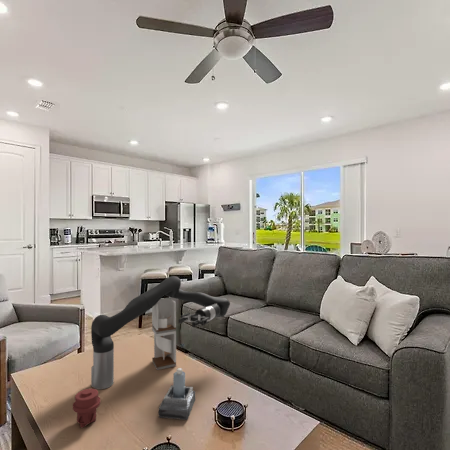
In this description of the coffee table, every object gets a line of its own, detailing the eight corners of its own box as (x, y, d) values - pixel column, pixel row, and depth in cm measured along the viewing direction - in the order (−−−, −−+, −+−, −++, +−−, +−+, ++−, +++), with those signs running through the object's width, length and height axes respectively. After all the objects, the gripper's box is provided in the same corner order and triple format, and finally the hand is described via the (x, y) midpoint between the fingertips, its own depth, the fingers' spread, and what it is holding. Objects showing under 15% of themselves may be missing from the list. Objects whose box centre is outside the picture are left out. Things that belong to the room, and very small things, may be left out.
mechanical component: (105, 416, 125) (90, 432, 115) (83, 412, 127) (66, 428, 117) (105, 386, 125) (90, 400, 115) (83, 383, 127) (66, 396, 117)
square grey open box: (158, 418, 124) (158, 403, 124) (169, 397, 138) (169, 384, 138) (187, 420, 122) (187, 406, 122) (195, 399, 137) (195, 386, 137)
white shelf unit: (152, 361, 174) (152, 299, 174) (170, 357, 178) (170, 297, 178) (156, 369, 163) (156, 304, 163) (176, 365, 168) (175, 302, 168)
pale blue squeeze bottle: (171, 399, 130) (172, 371, 129) (174, 392, 135) (175, 366, 134) (183, 400, 129) (183, 372, 129) (186, 393, 134) (186, 366, 134)
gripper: (194, 305, 167) (174, 312, 153) (216, 309, 159) (197, 317, 146) (194, 319, 167) (174, 327, 153) (216, 324, 159) (197, 333, 146)
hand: (185, 323), depth 149 cm, fingers open, 8 cm apart
